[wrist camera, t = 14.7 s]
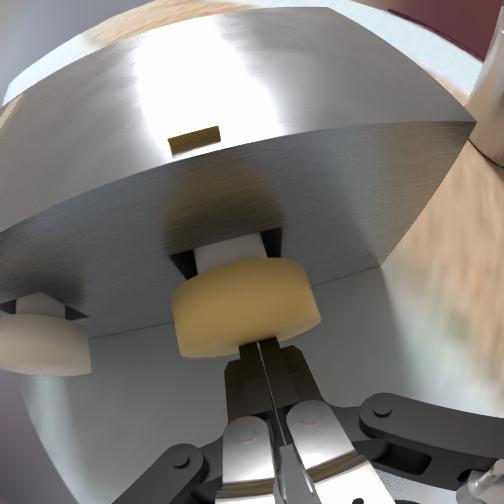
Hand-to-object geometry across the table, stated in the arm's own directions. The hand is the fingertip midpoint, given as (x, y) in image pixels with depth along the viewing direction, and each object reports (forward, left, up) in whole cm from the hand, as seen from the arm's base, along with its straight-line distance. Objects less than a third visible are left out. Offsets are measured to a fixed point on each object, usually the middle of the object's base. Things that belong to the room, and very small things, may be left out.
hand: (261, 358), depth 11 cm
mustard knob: (+4, -7, -1) cm, 8 cm away
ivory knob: (+13, -2, -1) cm, 13 cm away
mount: (+7, -7, -5) cm, 11 cm away
